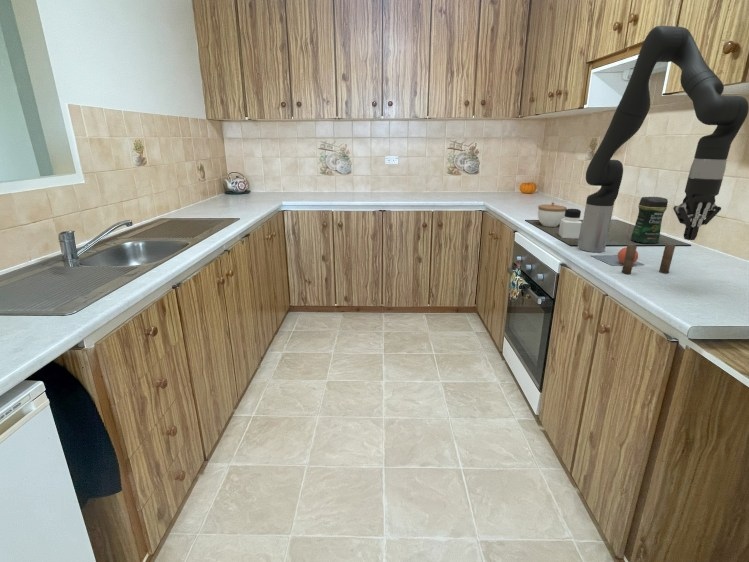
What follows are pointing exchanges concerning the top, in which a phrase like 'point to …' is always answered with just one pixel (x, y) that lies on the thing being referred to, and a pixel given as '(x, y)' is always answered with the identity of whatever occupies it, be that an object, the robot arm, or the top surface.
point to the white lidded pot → (551, 214)
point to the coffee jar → (649, 219)
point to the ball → (622, 255)
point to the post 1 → (629, 259)
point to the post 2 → (667, 258)
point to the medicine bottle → (570, 224)
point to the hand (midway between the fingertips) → (689, 239)
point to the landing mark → (612, 259)
